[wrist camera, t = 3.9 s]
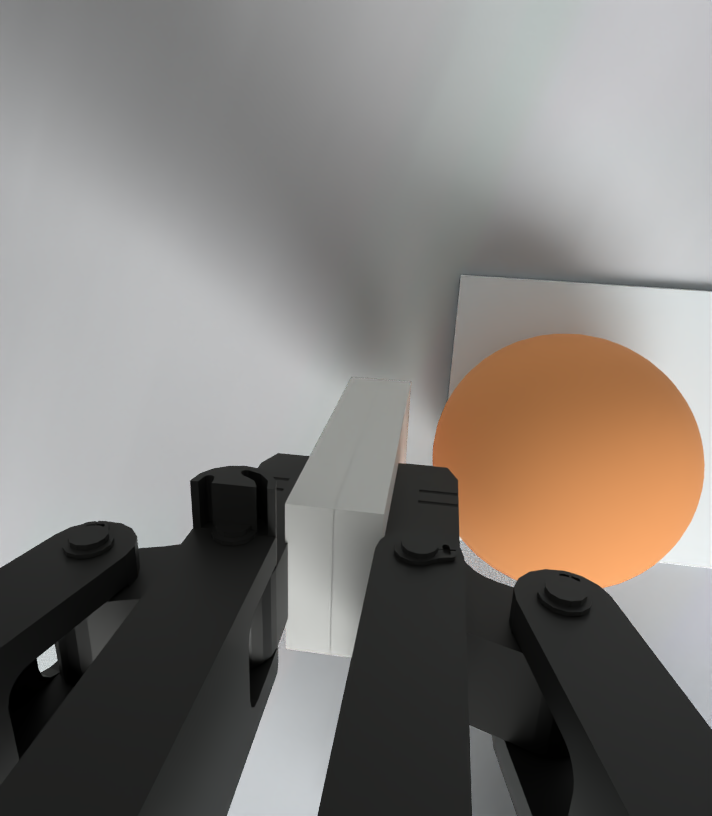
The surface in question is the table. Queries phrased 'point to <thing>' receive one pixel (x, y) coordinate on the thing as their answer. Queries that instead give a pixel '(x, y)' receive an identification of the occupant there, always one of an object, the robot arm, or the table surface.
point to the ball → (571, 459)
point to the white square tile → (612, 320)
